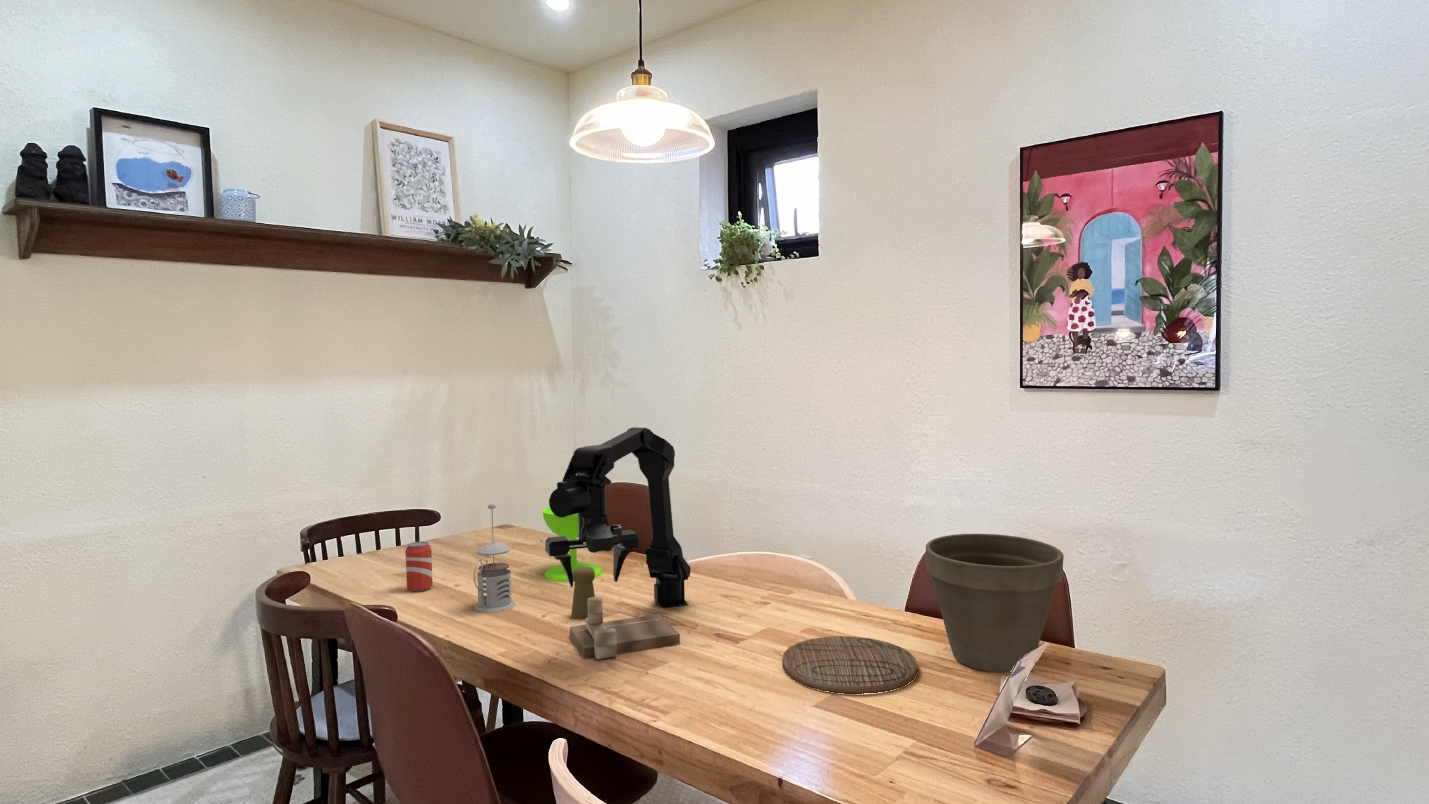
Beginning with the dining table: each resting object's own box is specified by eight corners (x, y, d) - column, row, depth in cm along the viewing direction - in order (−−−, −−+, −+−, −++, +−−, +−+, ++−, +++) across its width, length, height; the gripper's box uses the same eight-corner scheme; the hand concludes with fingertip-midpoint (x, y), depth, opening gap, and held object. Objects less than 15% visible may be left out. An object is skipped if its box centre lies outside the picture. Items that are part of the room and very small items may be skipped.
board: (659, 622, 175) (659, 613, 175) (679, 643, 162) (679, 633, 162) (569, 635, 168) (569, 626, 168) (583, 658, 155) (583, 648, 155)
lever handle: (600, 634, 167) (599, 592, 167) (616, 656, 155) (615, 610, 154) (582, 637, 166) (581, 595, 165) (596, 659, 153) (595, 613, 153)
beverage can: (436, 585, 208) (434, 541, 208) (425, 592, 202) (423, 546, 201) (414, 585, 209) (412, 540, 208) (402, 592, 203) (400, 546, 202)
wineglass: (614, 570, 221) (613, 506, 220) (575, 584, 207) (573, 516, 206) (572, 563, 229) (570, 502, 228) (531, 576, 216) (529, 511, 215)
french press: (524, 601, 193) (520, 500, 192) (496, 616, 182) (492, 509, 181) (489, 598, 196) (486, 499, 195) (460, 612, 185) (456, 507, 184)
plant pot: (1068, 693, 135) (1068, 568, 134) (920, 676, 143) (919, 558, 142) (1058, 643, 158) (1059, 537, 157) (931, 631, 167) (931, 530, 166)
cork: (592, 619, 179) (591, 571, 178) (567, 618, 180) (565, 570, 179) (601, 611, 184) (600, 564, 184) (577, 609, 186) (575, 563, 185)
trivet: (779, 645, 161) (779, 636, 161) (902, 644, 160) (902, 635, 160) (786, 697, 136) (786, 686, 136) (931, 697, 135) (931, 686, 135)
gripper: (553, 519, 150) (555, 600, 151) (647, 511, 157) (648, 588, 158) (543, 510, 161) (545, 585, 162) (632, 503, 168) (633, 575, 168)
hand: (593, 584), depth 162 cm, fingers open, 9 cm apart
